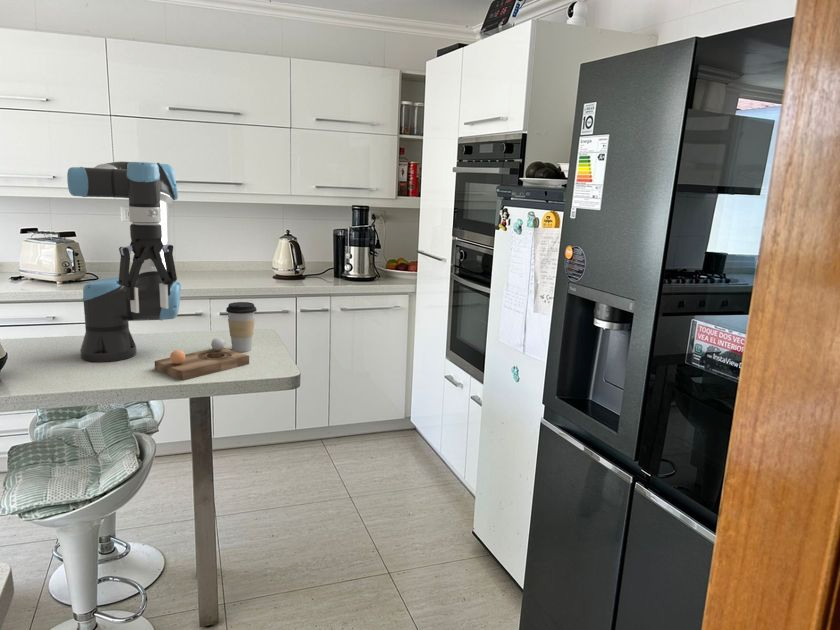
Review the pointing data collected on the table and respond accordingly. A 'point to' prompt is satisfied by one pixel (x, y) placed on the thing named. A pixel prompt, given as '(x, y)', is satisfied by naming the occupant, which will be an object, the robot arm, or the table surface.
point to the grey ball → (218, 344)
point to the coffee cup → (241, 325)
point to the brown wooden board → (202, 363)
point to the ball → (177, 357)
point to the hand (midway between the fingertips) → (150, 309)
